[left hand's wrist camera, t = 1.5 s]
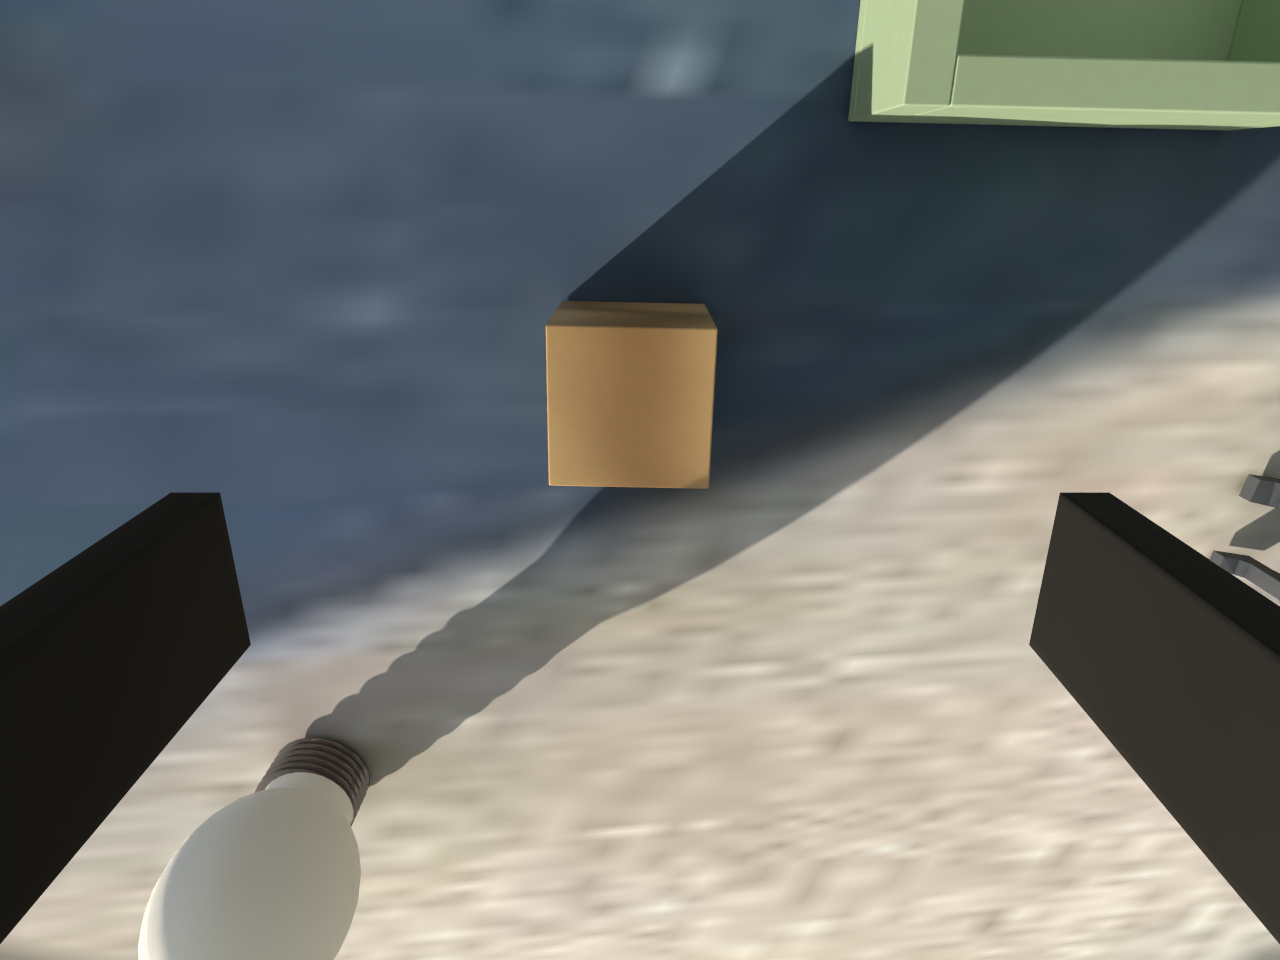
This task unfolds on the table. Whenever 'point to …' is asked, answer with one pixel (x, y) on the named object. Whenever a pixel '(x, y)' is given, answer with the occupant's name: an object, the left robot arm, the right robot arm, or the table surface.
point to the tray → (1069, 63)
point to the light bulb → (267, 867)
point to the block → (630, 394)
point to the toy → (1245, 566)
